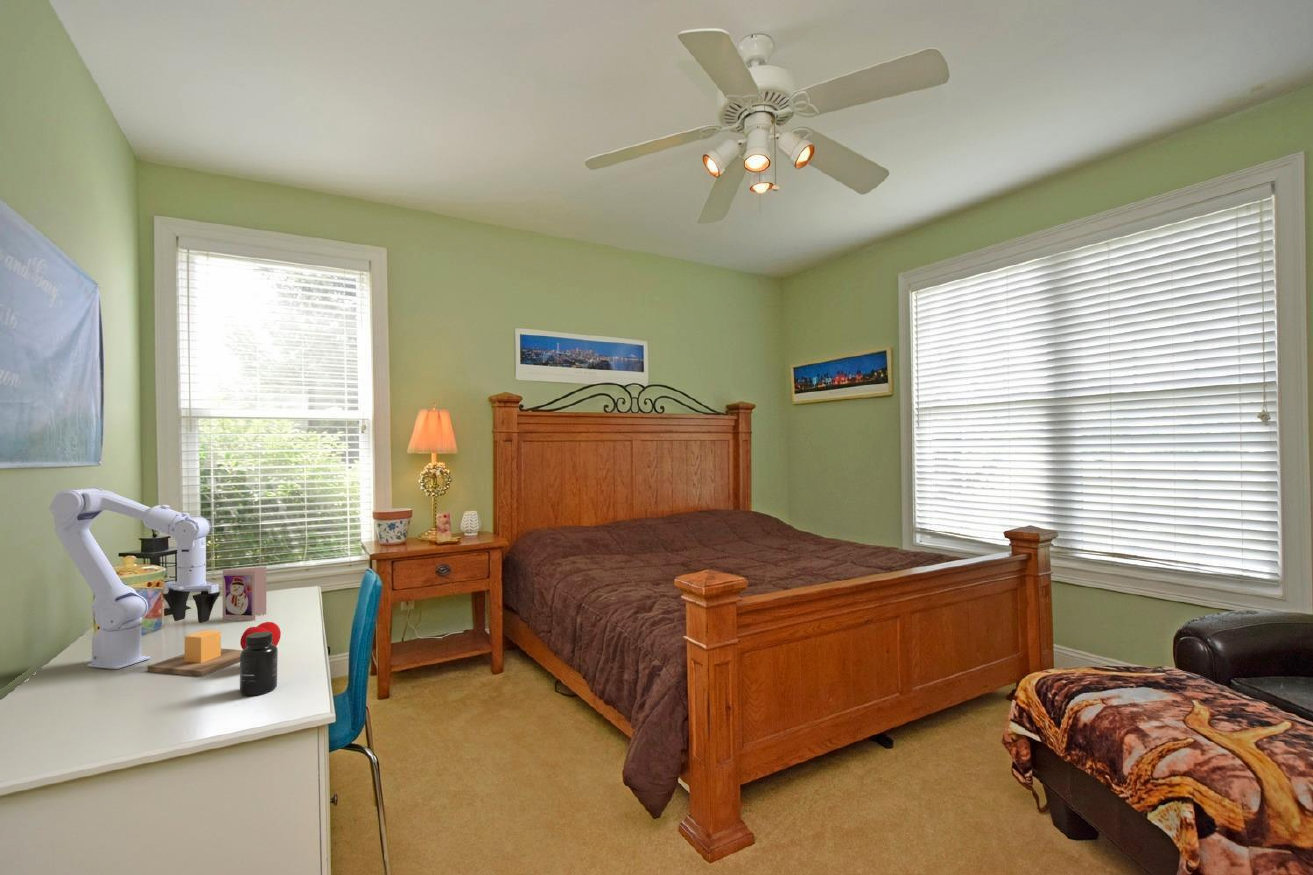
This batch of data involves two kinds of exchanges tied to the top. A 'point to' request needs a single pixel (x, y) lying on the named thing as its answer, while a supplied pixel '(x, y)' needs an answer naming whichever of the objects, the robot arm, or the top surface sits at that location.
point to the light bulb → (262, 628)
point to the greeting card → (244, 593)
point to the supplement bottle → (258, 665)
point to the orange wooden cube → (202, 646)
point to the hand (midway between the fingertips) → (191, 620)
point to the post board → (197, 664)
